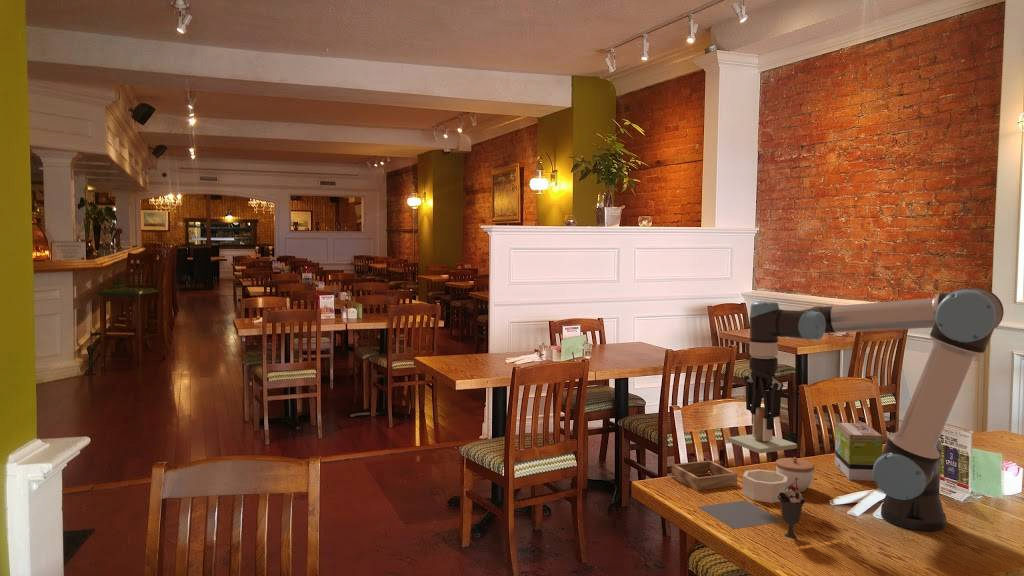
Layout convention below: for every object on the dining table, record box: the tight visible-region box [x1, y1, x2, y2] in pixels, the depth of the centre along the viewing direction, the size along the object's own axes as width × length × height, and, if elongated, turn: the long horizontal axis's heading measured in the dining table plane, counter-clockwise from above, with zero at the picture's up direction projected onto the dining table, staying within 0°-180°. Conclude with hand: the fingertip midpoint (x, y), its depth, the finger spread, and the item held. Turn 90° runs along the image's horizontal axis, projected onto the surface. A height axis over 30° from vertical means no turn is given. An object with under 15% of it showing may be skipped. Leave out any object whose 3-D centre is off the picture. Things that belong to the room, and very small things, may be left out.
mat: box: [697, 499, 785, 530], centre depth 193 cm, size 16×16×1 cm
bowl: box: [742, 468, 788, 504], centre depth 208 cm, size 12×12×6 cm
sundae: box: [778, 478, 807, 539], centre depth 179 cm, size 7×7×15 cm
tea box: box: [834, 422, 884, 482], centre depth 229 cm, size 15×10×15 cm, turn 172°
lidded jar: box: [775, 456, 815, 493], centre depth 215 cm, size 11×11×9 cm
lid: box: [727, 406, 798, 454], centre depth 203 cm, size 13×13×10 cm
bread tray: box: [671, 460, 738, 491], centre depth 220 cm, size 14×14×4 cm
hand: (762, 438), depth 203 cm, fingers closed on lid, 4 cm apart
